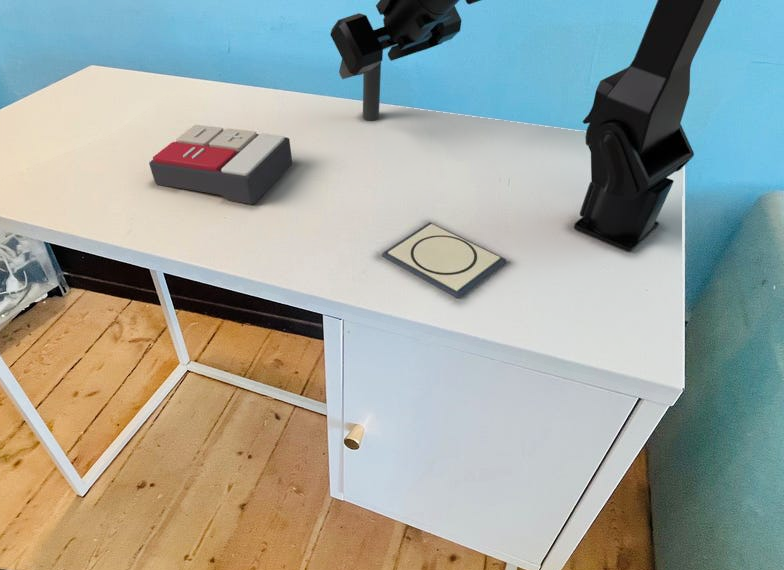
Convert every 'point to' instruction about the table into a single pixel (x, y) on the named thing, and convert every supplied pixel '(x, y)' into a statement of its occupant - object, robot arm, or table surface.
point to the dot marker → (371, 93)
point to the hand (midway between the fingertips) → (366, 66)
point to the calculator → (223, 162)
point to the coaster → (444, 259)
